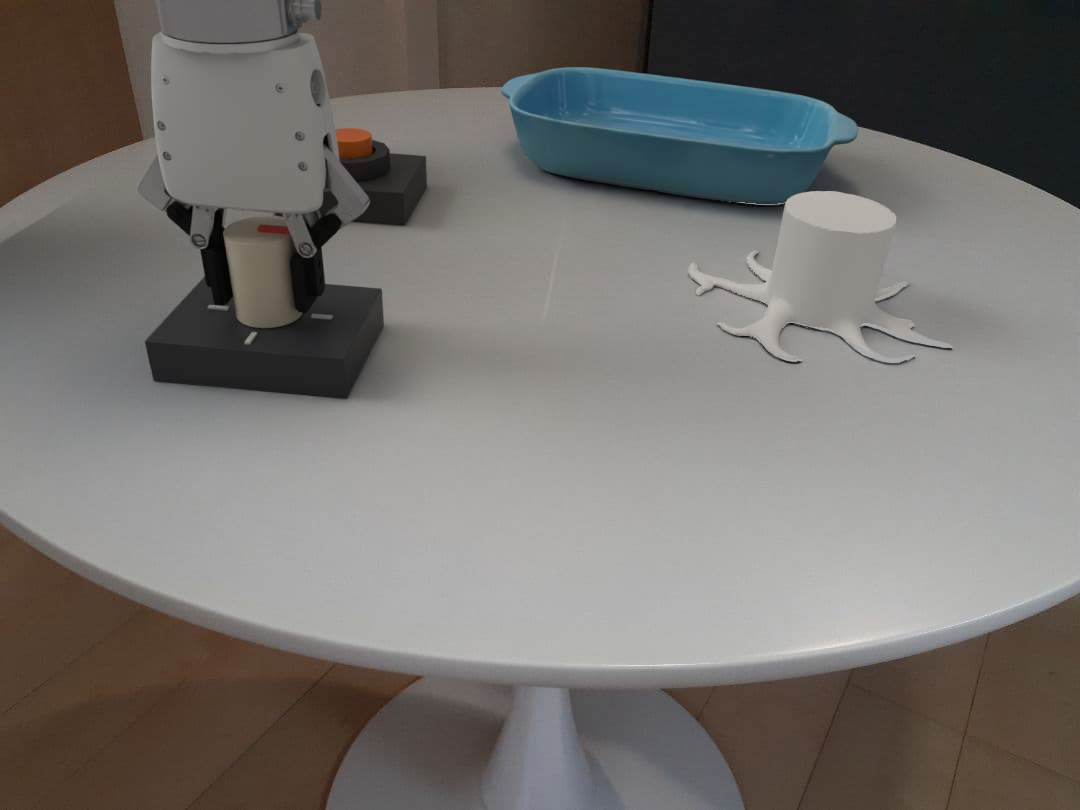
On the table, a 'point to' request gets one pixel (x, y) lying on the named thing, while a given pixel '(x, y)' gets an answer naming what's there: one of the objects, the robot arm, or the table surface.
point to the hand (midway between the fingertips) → (268, 297)
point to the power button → (354, 143)
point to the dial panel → (269, 344)
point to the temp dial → (261, 271)
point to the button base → (384, 185)
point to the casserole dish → (674, 133)
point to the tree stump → (820, 270)
